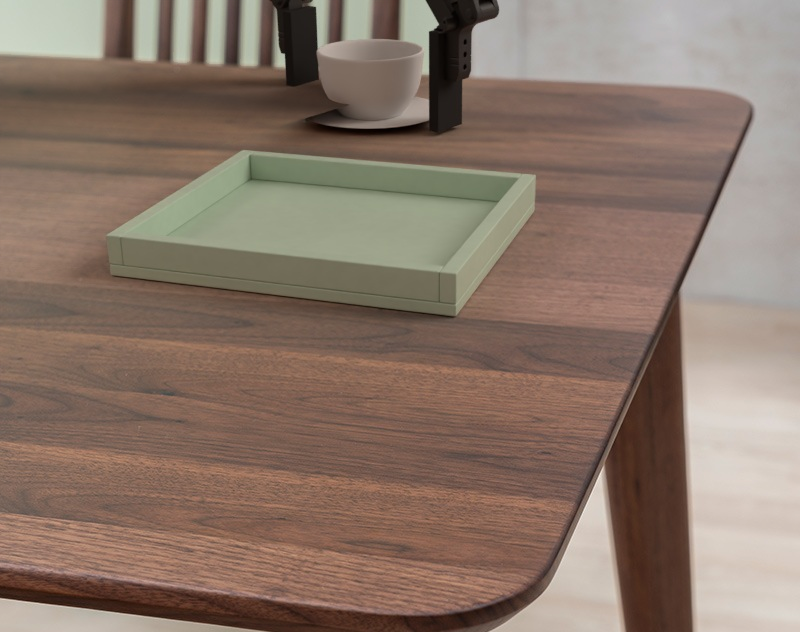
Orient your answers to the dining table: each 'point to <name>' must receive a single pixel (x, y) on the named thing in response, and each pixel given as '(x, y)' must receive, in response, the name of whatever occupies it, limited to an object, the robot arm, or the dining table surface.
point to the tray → (330, 230)
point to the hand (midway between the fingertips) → (371, 114)
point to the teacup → (372, 83)
